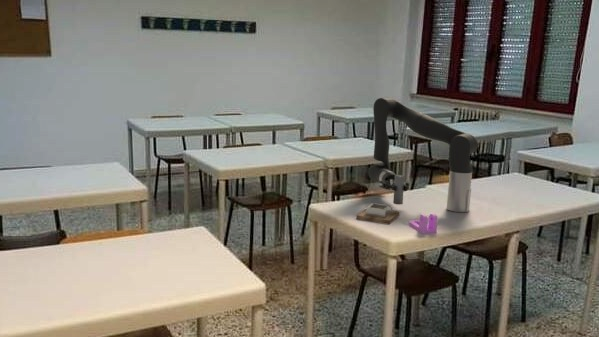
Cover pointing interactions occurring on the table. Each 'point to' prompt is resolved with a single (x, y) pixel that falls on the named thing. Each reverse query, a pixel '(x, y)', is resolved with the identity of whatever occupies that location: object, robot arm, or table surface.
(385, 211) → the socket board
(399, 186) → the peg
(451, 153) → the robot arm
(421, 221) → the bracket
